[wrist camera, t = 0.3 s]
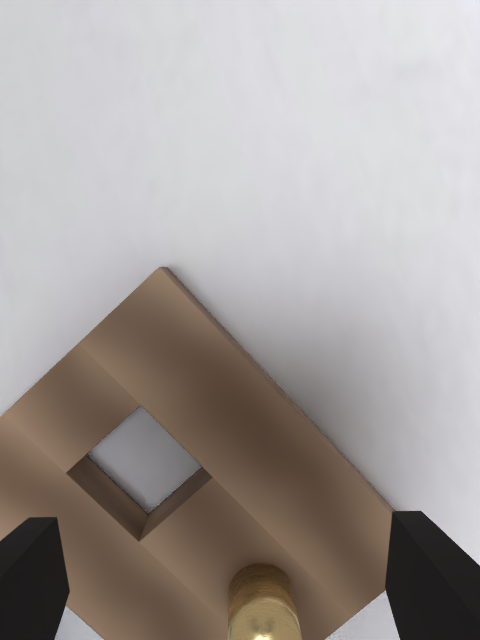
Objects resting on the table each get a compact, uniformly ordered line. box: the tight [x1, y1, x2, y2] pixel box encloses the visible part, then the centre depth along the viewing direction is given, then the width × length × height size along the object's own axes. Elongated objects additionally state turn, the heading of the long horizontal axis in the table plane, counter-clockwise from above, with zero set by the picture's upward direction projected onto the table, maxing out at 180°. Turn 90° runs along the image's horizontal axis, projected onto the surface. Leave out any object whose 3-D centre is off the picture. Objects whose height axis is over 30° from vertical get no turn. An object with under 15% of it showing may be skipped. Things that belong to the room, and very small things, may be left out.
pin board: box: [0, 267, 395, 640], centre depth 17 cm, size 14×18×5 cm
